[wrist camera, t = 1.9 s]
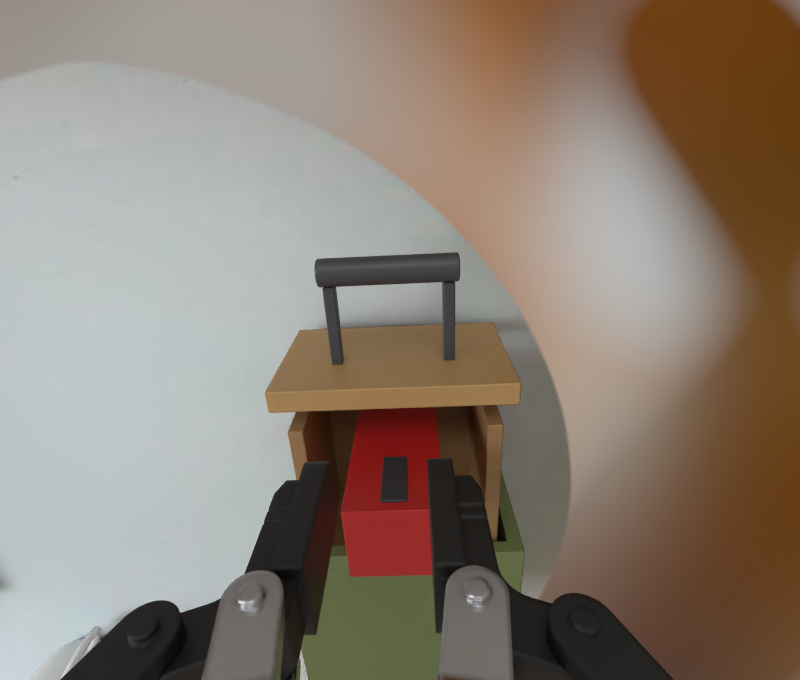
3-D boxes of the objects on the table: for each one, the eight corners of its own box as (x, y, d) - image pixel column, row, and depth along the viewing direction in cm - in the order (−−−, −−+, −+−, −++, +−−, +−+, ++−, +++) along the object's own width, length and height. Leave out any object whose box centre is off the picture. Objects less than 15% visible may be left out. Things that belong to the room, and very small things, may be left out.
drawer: (285, 241, 26) (240, 278, 19) (496, 231, 26) (530, 265, 19) (324, 491, 34) (302, 583, 27) (486, 486, 34) (507, 578, 27)
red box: (363, 381, 29) (340, 510, 19) (432, 379, 29) (446, 508, 19) (368, 435, 31) (349, 579, 21) (433, 432, 30) (447, 576, 20)
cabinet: (313, 449, 34) (280, 558, 25) (493, 443, 33) (524, 552, 24) (334, 581, 40) (314, 706, 31) (487, 578, 39) (510, 704, 30)
